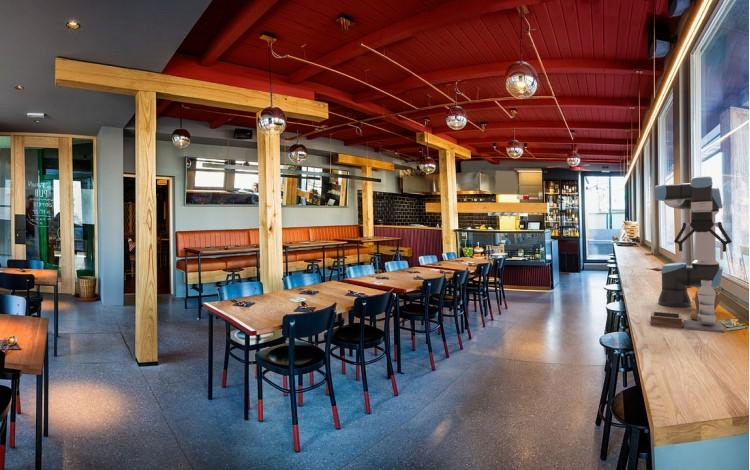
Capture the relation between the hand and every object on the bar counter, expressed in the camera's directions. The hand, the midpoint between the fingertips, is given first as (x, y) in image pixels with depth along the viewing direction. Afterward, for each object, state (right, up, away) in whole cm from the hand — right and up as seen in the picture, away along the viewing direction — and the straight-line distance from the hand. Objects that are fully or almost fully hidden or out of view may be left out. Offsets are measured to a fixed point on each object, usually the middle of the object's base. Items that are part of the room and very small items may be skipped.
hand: (701, 258), depth 188 cm
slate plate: (+1, -31, +1) cm, 31 cm away
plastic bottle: (+2, -30, 0) cm, 30 cm away
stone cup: (+12, -30, +13) cm, 35 cm away
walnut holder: (-10, -31, +9) cm, 33 cm away
